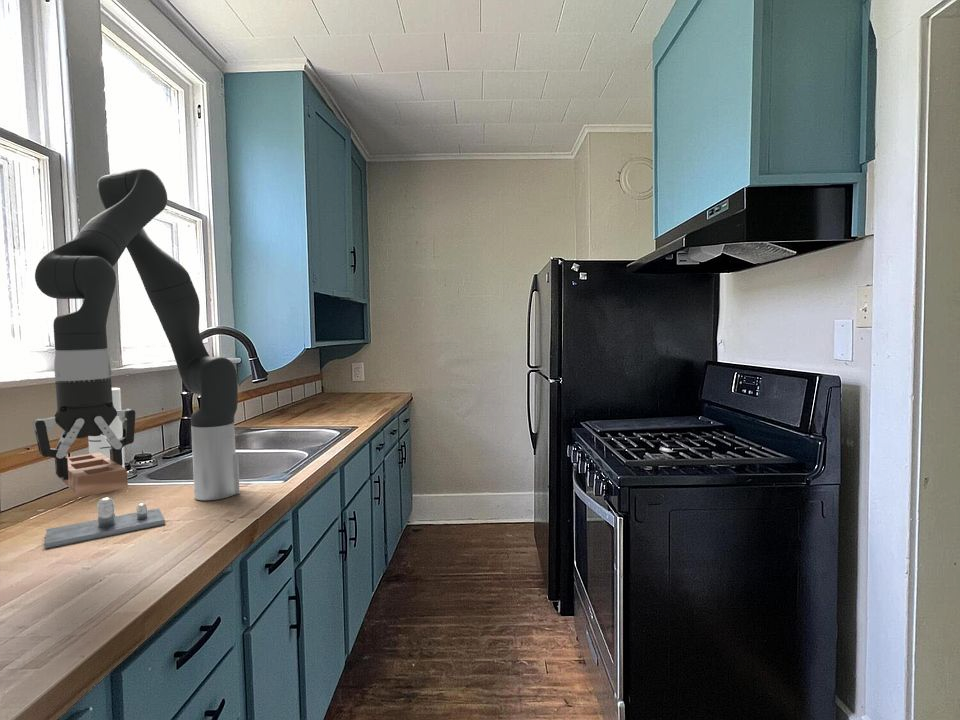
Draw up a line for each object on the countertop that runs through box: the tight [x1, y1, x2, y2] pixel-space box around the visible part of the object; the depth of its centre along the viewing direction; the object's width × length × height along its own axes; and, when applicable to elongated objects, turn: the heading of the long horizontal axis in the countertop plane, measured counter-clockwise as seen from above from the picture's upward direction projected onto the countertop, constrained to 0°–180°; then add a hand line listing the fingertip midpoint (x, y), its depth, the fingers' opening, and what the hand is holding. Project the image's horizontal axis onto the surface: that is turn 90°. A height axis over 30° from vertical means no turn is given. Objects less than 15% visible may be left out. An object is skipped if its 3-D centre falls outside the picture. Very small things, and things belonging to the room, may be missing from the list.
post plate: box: [44, 497, 166, 549], centre depth 107 cm, size 19×9×6 cm, turn 128°
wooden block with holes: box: [59, 452, 129, 498], centre depth 90 cm, size 18×6×3 cm, turn 47°
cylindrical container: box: [87, 387, 126, 469], centre depth 135 cm, size 7×7×25 cm
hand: (90, 474), depth 90 cm, fingers closed on wooden block with holes, 6 cm apart
